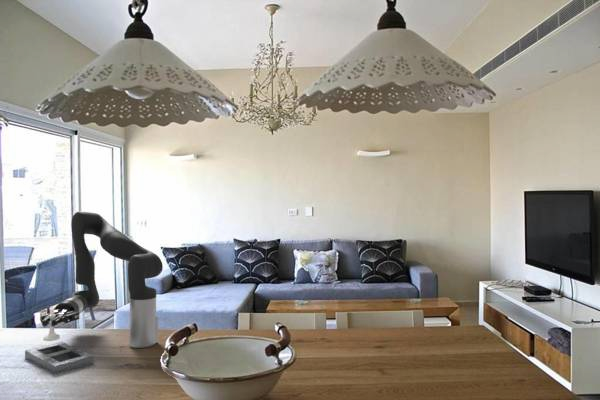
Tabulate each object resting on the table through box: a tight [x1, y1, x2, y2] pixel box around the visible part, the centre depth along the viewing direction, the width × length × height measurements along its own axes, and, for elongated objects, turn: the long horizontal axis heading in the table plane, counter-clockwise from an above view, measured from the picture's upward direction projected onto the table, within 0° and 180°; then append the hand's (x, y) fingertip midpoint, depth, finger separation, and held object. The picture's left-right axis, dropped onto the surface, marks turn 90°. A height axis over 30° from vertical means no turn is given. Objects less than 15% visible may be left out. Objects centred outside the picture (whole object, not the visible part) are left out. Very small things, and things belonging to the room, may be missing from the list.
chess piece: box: [43, 308, 61, 342], centre depth 148 cm, size 5×5×10 cm
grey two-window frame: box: [24, 341, 95, 375], centre depth 145 cm, size 12×22×2 cm, turn 52°
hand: (48, 323), depth 145 cm, fingers closed on chess piece
